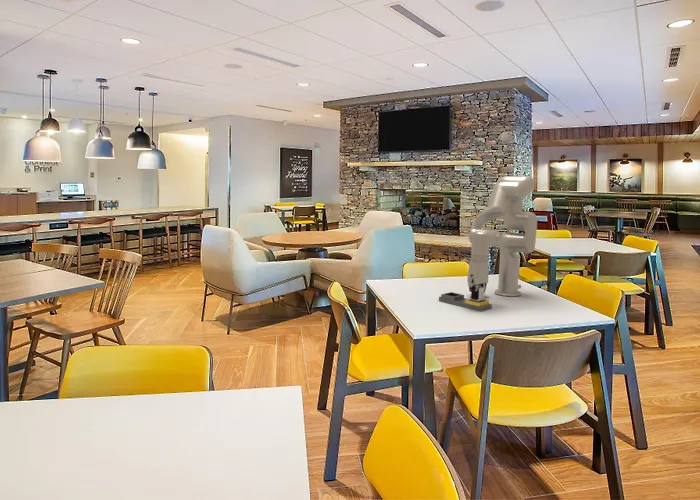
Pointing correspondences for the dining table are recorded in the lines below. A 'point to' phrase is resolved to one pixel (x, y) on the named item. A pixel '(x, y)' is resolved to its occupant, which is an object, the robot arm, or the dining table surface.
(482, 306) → the grey flat elongated piece
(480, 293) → the knobbed metal block
